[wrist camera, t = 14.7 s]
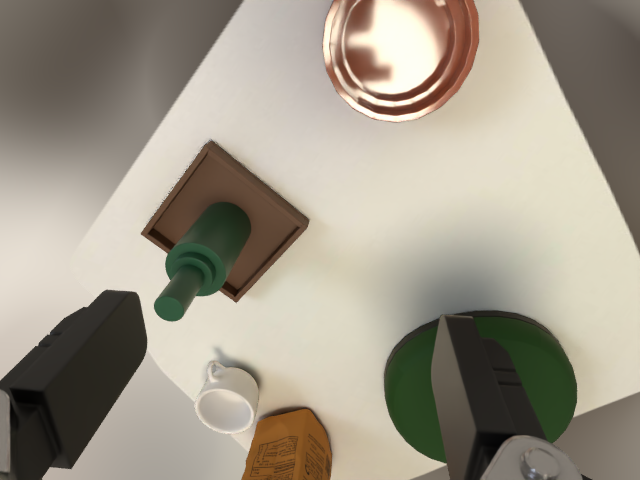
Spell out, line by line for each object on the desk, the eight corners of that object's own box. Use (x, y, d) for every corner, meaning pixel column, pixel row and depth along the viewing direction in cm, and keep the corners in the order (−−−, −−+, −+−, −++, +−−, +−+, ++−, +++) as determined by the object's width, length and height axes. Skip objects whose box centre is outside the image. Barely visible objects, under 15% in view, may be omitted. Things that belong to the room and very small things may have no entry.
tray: (148, 226, 50) (140, 233, 48) (211, 140, 44) (205, 144, 43) (240, 293, 53) (236, 302, 51) (309, 220, 47) (307, 227, 46)
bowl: (303, 11, 39) (295, 9, 34) (433, -71, 35) (443, -85, 31) (364, 133, 43) (364, 146, 38) (485, 71, 39) (500, 77, 35)
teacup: (271, 396, 60) (263, 429, 55) (221, 405, 61) (209, 437, 57) (244, 340, 56) (233, 370, 51) (191, 351, 57) (176, 381, 53)
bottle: (191, 214, 48) (119, 294, 34) (233, 193, 46) (175, 267, 32) (220, 255, 50) (162, 346, 36) (260, 235, 48) (217, 323, 34)
